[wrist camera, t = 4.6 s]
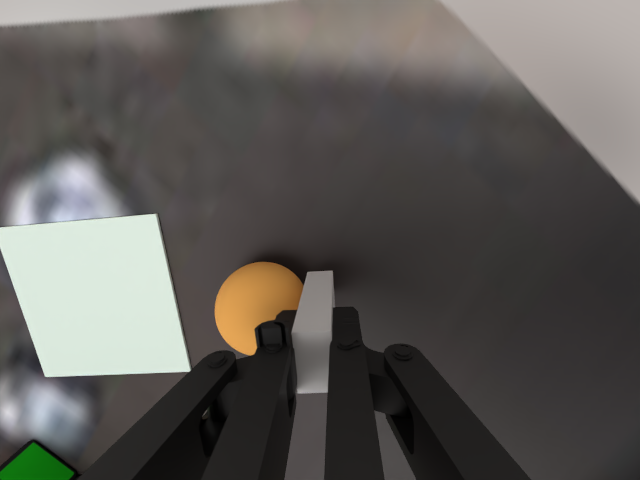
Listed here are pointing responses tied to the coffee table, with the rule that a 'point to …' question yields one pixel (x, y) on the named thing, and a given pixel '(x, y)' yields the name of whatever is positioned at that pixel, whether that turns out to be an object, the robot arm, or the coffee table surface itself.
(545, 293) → the coffee table surface
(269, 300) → the ball
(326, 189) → the coffee table surface
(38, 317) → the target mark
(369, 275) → the coffee table surface
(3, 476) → the puzzle cube
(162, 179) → the coffee table surface
